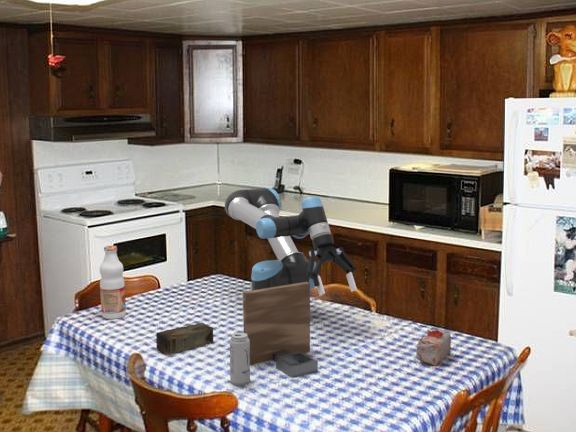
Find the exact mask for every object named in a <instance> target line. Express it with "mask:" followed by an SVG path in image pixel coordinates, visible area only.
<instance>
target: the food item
mask: <svg viewBox="0 0 576 432" xmlns="http://www.w3.org/2000/svg"><path fill="white" fill-rule="evenodd" d="M426 333H427V335H426V336H425V337H424V335H423V336H422V337H421V338H419V341H418V342H417V344H416V349H415V350H416V352H415V353H416V358H417V360H419V362H421V363H424V364H427V365H430V366H435V367H436V366H438V364H439V363H440V362H442V361H443V360H444V359H446V357H448V356H449V355H450V354H451V351H452V349H451V347H452V345H451V343H452V342H451V339H452V337H451V336H452V334H451V333H449V331H446V330H443V329H434V330H430V329H427V331H426Z"/></svg>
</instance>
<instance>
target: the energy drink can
mask: <svg viewBox="0 0 576 432" xmlns="http://www.w3.org/2000/svg"><path fill="white" fill-rule="evenodd" d="M230 336H231V337H230V339H229V371H230V374H229V377H230V382H231V383H232V384H233V386H237V387H238V386H239V387H242V386H246V385H248V384H249V382H250V381H251V365H250V340H249V338H248V335H247V334H246V333H244V332H234V333H232V334H231V335H230Z"/></svg>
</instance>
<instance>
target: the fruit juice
mask: <svg viewBox="0 0 576 432" xmlns="http://www.w3.org/2000/svg"><path fill="white" fill-rule="evenodd" d="M103 251H104V253H105V254H104V258H103V260H102V262H101V264H100V265H99V274H100V281H99V290H100V291H99V292H100V312H101V317H102V318H103V319H106V320H115V319H121V318H124V317H125V316H126V313H127V310H126V309H127V307H126V305H127V304H126V287H125V285H126V284H125V278H124V275H123V274H124V265H123V263H122V262H121V261H120V260H119V257H118V253H117V251H118V247H117V245H106V246H104V248H103Z"/></svg>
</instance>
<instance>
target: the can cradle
mask: <svg viewBox="0 0 576 432" xmlns="http://www.w3.org/2000/svg"><path fill="white" fill-rule="evenodd" d="M272 361H274V362H275V368H276V369H278V370H279V371H281V372H283V373H284V374H285V375H287V376H288V377H290V378H295V377H299V376H304V375H307V374H312V373H316V372H318V370H319V367H318V362H319V361H318V360H317V359H316V358H314V357H312V356H310V355H309V354H307V353H304V352H302V351H301V352H296V353H290V352H289V351H287V350H283V351H278V352H273V360H272Z"/></svg>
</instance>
